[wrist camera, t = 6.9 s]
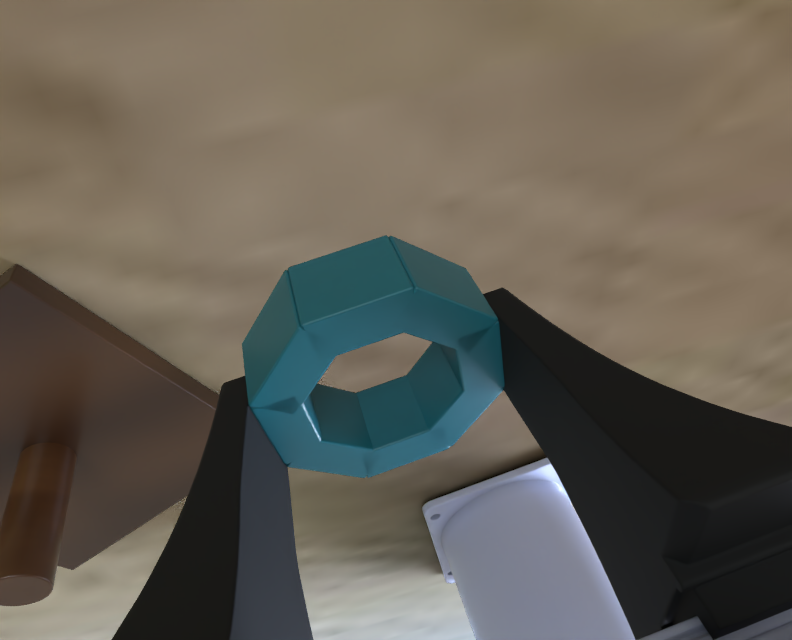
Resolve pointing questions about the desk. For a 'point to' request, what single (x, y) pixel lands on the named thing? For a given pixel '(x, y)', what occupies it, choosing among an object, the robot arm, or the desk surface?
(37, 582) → the ring toss
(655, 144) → the desk surface
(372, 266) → the ring
